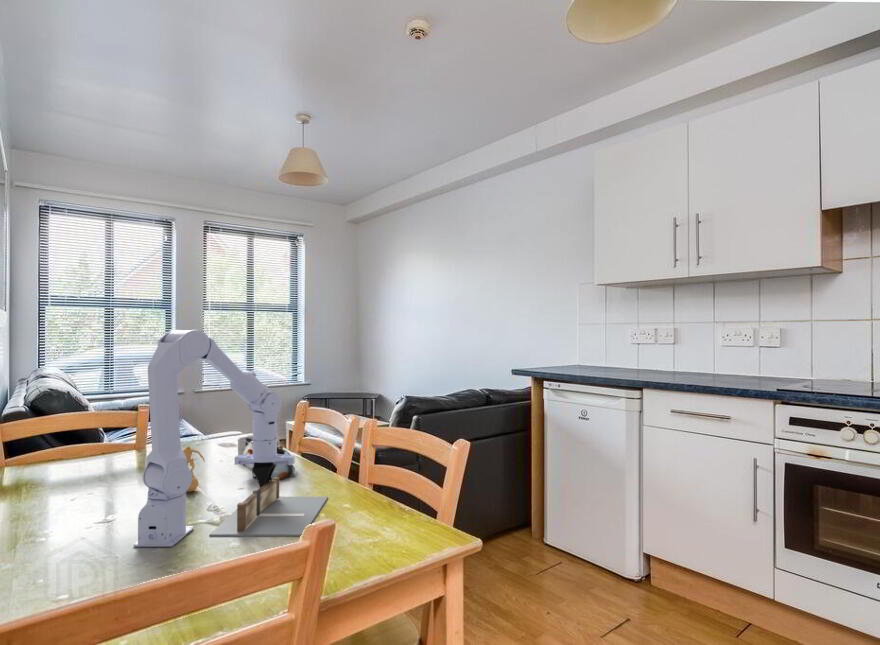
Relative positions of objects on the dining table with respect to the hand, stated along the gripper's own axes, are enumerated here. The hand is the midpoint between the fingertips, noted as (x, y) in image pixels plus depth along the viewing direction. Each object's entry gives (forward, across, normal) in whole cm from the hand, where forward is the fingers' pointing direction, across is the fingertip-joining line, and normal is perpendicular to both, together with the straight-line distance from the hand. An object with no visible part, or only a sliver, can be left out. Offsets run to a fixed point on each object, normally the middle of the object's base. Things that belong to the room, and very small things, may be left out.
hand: (264, 493), depth 126 cm
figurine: (+3, +25, -10) cm, 27 cm away
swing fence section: (+2, -2, +2) cm, 3 cm away
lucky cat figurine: (+3, +8, -24) cm, 25 cm away
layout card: (+3, -5, +7) cm, 9 cm away
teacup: (+3, +17, -40) cm, 44 cm away
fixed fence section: (+2, -1, +12) cm, 13 cm away
